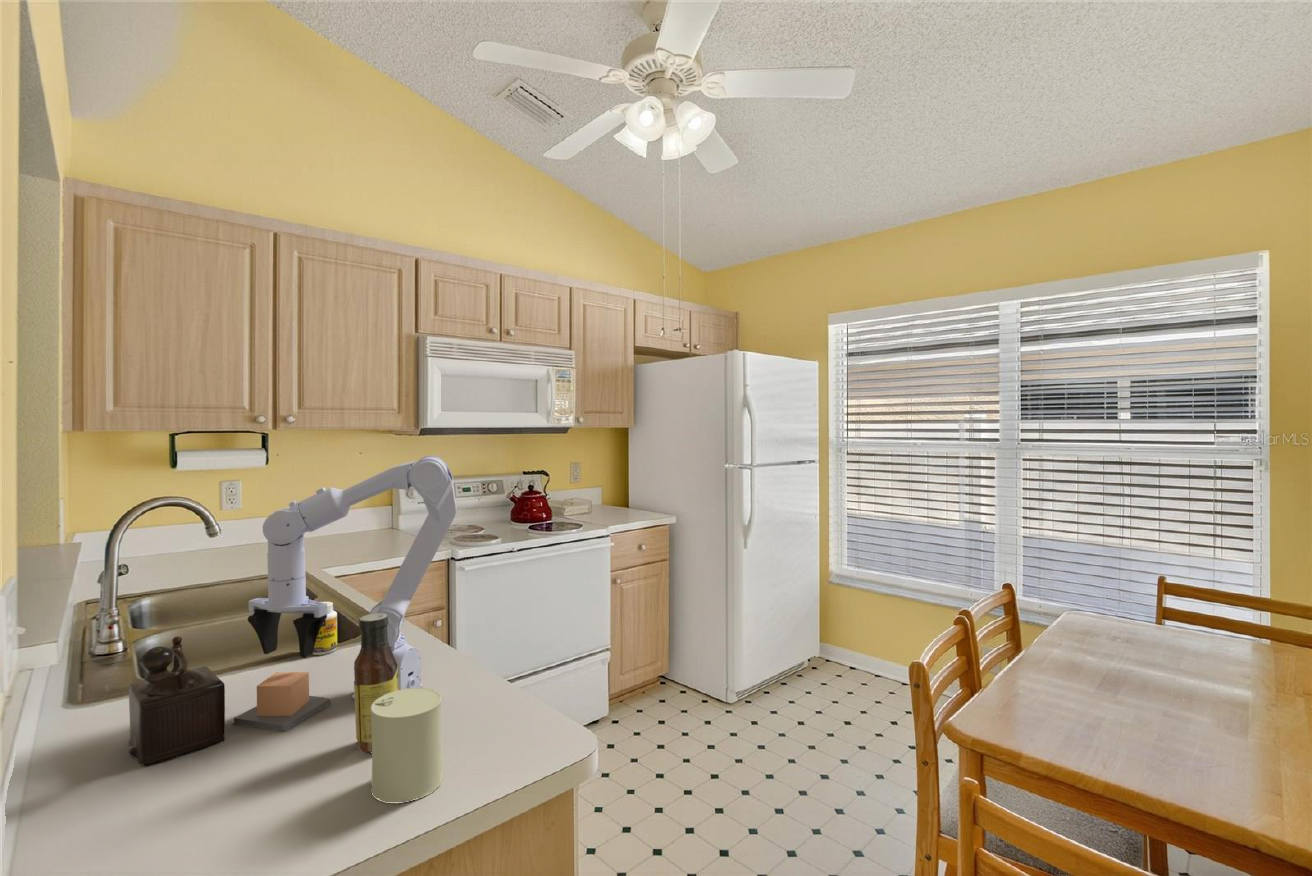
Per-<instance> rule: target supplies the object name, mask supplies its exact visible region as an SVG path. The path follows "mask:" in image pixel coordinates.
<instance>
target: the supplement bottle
mask: <svg viewBox="0 0 1312 876" xmlns="http://www.w3.org/2000/svg"><path fill="white" fill-rule="evenodd" d="M320 603H327V618H326V619H325V621H324V623H323V625H322V627H321V629H320V631H319V633H318V636H317V639H316V643H315V646H314V651H313V654H312V655H313V656H324V655H328V654H332V653H333V652H335V651H336V650H337V649H338V612H337V611H335V610H334V603H333V602H332V601H320ZM312 655H311V656H312Z"/></svg>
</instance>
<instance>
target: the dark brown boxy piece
mask: <svg viewBox="0 0 1312 876" xmlns="http://www.w3.org/2000/svg"><path fill="white" fill-rule="evenodd" d="M171 642H172V646H171V647H168V646H153V647H152V648H149V649H147V650H145V651H144V652H143V653H142V655H141V658H140V659H139V665H140V667H142V668H143V669H144V671H145V672H146V675H145V677H144V680H141V681H137V682H133V683H130V684H129V685H128V686H129V687H128V706H129V709H128V710H129V742H128V744H129V747H128V753H129V755H131V756H132V757H133V758H134V759H136V760H137V762H138V763H139V764H140V765H142V766H144V767H147V766H152V765H155V764H160V763H164V762H168V761H172V760H173V759H177V758H180V757H183V756H187V755H189V754H192V753H193V754H194V753H195V752H198V751H202V750H206V749H208V748H211V747H213V746H216V745H218V744H220V743H223V742H225V740H226V738H225V727H226V726H225V725H226V723H225V722H226V707H225V706H226V700H225V699H226V696H225V695H226V690H225V689H226V688H225V683H224V681H222V680H221V679H220V678H219V677H218V676H217V675H216V674H215V673H214V672H213V671H212V670H211V669H210V668H209V667H208V666H206V665H205V666H200V667H196V668H195V667H194V668H192V669H191V668H188V667H189V663H188V660H187V657H186V655H185V652H184V651H183V650H184V648H183V644H182V642H183V638H182V637H181V636H174V637H173V638H172V639H171ZM171 663H172V669H168V667H169V666H170V665H171Z"/></svg>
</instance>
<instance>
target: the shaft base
mask: <svg viewBox="0 0 1312 876" xmlns="http://www.w3.org/2000/svg"><path fill="white" fill-rule="evenodd" d="M331 699H332V698H328V697H320V696H314V695H309V701H308V702H307V703H306V704H305V705H303V706H302V707H301V708H300V709H299V710H298V711H297V712H295V713H294V714H293V715H292V716H257V705H256V706H254V707H252V708H250V709H249V710H247V711H246V710H245V711H244V712H243V713H241V714H238V715H237V716H235V717H234V718H233V725H238V726H239V725H240V726H246V727H252V728H258V729H259V728H260V729H265V730H272V731H277V732H278V731H279V732H286V731H288V730H290V729H291V728H293V727H295V726H297V725H298V724H300V723H301V722H303V721H305V720H306V719H308V718H310V717H312V716H314V715H315V714H316V713H319V712H320V711H322V710H323V709H325V708H327V707H329V706H330V705H331V703H332V702H331V701H332V700H331Z"/></svg>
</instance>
